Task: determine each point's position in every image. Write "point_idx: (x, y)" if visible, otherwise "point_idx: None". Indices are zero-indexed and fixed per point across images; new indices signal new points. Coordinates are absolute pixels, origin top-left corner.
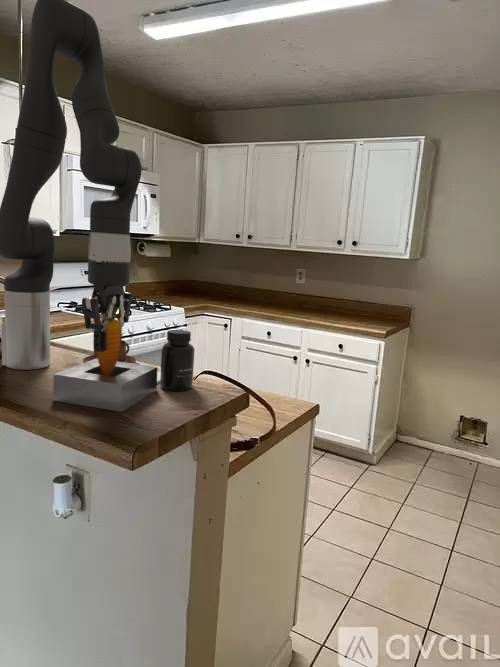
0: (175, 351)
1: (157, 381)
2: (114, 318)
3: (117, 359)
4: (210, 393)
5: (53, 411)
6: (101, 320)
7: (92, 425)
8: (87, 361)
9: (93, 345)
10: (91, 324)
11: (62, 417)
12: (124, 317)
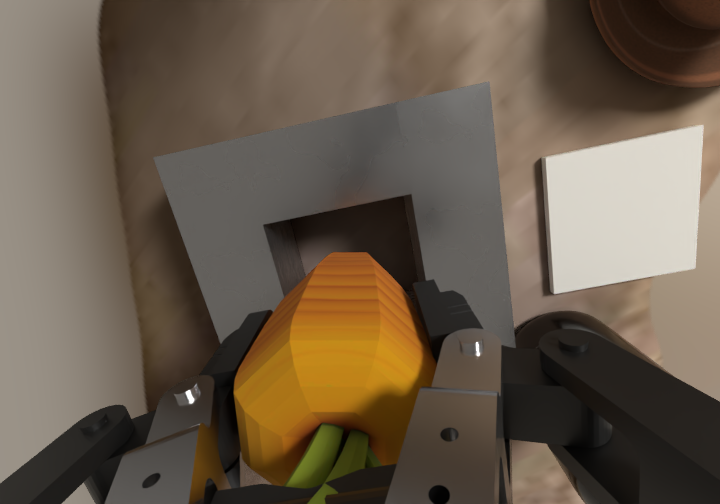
0: (580, 493)
1: (563, 291)
2: (502, 382)
3: (701, 19)
4: (551, 452)
5: (147, 230)
6: (268, 430)
7: (160, 374)
8: None
9: (224, 339)
10: (85, 481)
11: (138, 284)
12: (564, 450)
